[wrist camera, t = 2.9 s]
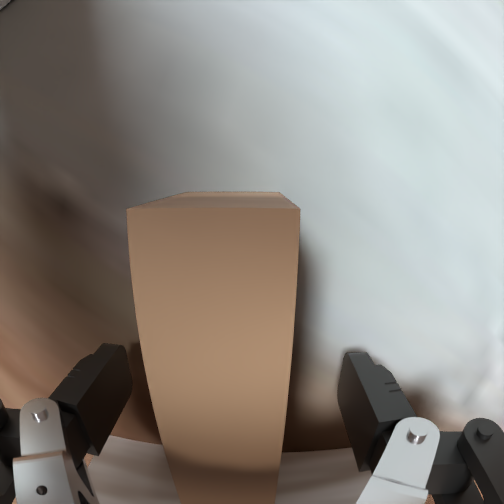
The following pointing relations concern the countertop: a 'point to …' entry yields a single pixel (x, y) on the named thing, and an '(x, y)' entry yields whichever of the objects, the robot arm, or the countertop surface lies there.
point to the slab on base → (218, 359)
